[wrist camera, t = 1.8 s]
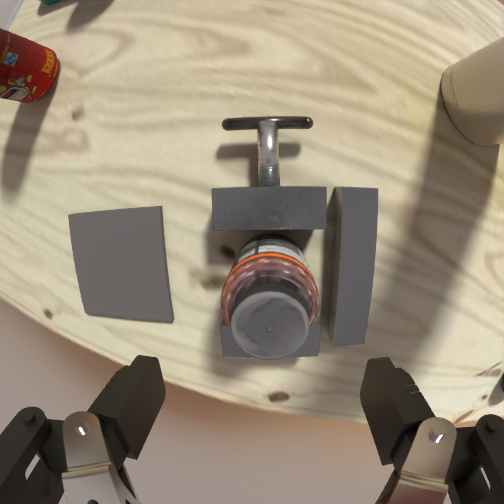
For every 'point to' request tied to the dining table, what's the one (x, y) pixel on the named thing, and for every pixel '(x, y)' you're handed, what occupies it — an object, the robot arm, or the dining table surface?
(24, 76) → the soda can
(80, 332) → the dining table surface
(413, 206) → the dining table surface
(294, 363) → the dining table surface
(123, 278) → the mat
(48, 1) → the bracket
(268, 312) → the supplement bottle
